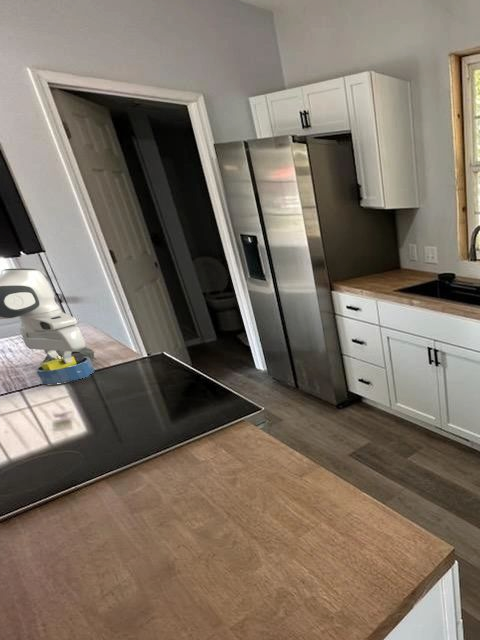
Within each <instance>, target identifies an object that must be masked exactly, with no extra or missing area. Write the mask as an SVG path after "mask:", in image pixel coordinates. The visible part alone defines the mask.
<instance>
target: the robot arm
mask: <svg viewBox="0 0 480 640" xmlns="http://www.w3.org/2000/svg"><path fill="white" fill-rule="evenodd" d="M14 318H19V319H20V322H21V323H20V326H21V327H20V329H19V331H20V335H21V338H22V340H23V343H24V345H25V347H26V348H28V349H29V350H41V351H43V352H44V353H45V355H46V356H47V355H48V356H49V357H50V358H51V359H52V360H55V359H58V358H61V360H62V362H63V363H70V362H72V361H73V360H72V358H71V353H72V352H73V351H77V350H80V349H83V348H85V347H86V341H85V339H84V337H83V334H82V331H81V330H80V327H78V326H77V325H78V323H79V322H78V320H77V319H76V317H74V316H71V315H69V314H67V313H66V312H63V311H62V309H61V307H60V306H59V304H57V302H56V300H55V293H54V291H53V289H52V286H51V285H50V283H49V281H48V279H47V278H46V277H45V275H44V274H43V273H42V272H41V271H40V270H38V269H35V268H26V267H25V268H24V267H23V268H4V269H2V270H1V271H0V320H9V319H14ZM56 351H59V352H60V353H61V354H62V357H61V356H59V355H58V354H57V352H56Z"/></svg>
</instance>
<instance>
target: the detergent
mask: <svg viewBox="0 0 480 640" xmlns="http://www.w3.org/2000/svg"><path fill="white" fill-rule="evenodd" d="M56 352H57V354H58V355H59V356H61V357H62V354H61V353H60V352H59V351H56ZM74 353H82V355H83V357H89V358H90V360H91V362H93V360H94V359H95V358H94V357H95V351H94V350H93V349H91V348H90V347H86V346H85V348H83V349H80V350H77V351H73V352H72V353H71V354H74ZM49 361H52V359H51V358H50V357H49V356H48V355H47V354H46V356H45V357H44V360H42V363H45V362H49ZM42 363H41V364H42Z"/></svg>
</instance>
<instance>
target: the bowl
mask: <svg viewBox="0 0 480 640" xmlns="http://www.w3.org/2000/svg"><path fill="white" fill-rule="evenodd" d="M84 359H85V361H84V362H82V363H79V364H76V365H73V366H70V367H66V368H61V369H55V370H47V371H44V370H43V368H42V366H41V365H39V366H37V367H36V368H34V371H35V373H36V376H37V377H38V379H39V381H40V383H41V384H42V385H45V384H57V383H64V382H68V381H72V380H77V381H79V380H78V379H81V380H83V379H86V378H89V377H90V376H92V375H93V374H94V373H95V372H96V371H95V370H96V369H95V367H94V365H93V363H92V362H93V361H91V360H90V358H89V357H84ZM92 373H93V374H92ZM90 374H92V375H90ZM89 375H90V376H89ZM85 377H86V378H85ZM82 378H83V379H82ZM77 381H76V382H77ZM65 384H67V383H65ZM65 384H64V385H65ZM60 385H61V384H59V385H58V386H60Z"/></svg>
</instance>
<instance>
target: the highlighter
mask: <svg viewBox="0 0 480 640" xmlns="http://www.w3.org/2000/svg"><path fill="white" fill-rule="evenodd" d="M71 358H72V360H73V361H72V362H70V363H63V362H62V360H61V358H58V359H55V360H52V361H49V362H45V363H40V366H42V368H43V370H44V371H47V370H55V369H61V368H66V367H70V366H73V365H76V364H79V363H82V362H84V361H85V359H84V357H83V355H82V353H74V354H71Z"/></svg>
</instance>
